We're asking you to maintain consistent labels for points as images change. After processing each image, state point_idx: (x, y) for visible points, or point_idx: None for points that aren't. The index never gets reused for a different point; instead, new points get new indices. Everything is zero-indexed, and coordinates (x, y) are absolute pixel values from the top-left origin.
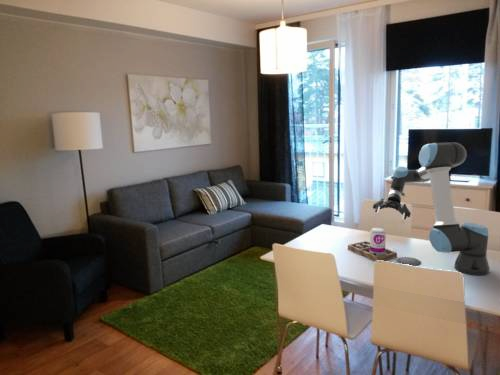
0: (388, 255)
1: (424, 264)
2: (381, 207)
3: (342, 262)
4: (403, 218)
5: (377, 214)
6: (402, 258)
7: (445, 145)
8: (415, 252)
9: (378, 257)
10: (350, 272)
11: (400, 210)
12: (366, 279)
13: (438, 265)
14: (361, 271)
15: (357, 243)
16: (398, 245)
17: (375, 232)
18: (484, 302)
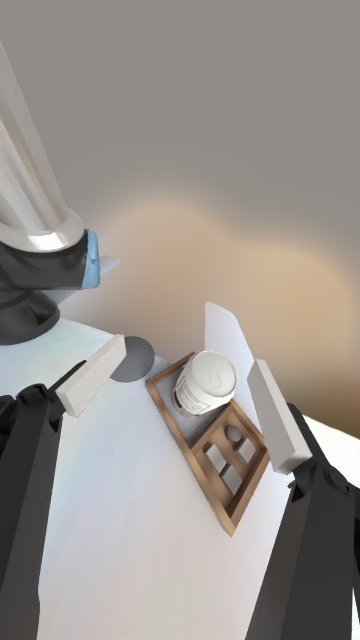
0: (169, 367)
1: (103, 344)
2: (286, 534)
3: (247, 353)
4: (115, 337)
5: (253, 368)
6: (137, 371)
7: None
8: (68, 435)
9: (192, 352)
10: (227, 320)
11: (37, 497)
12: (207, 303)
13: (76, 339)
14: (214, 322)
15: (253, 476)
16: (82, 556)
17: (219, 354)
18: (103, 261)
